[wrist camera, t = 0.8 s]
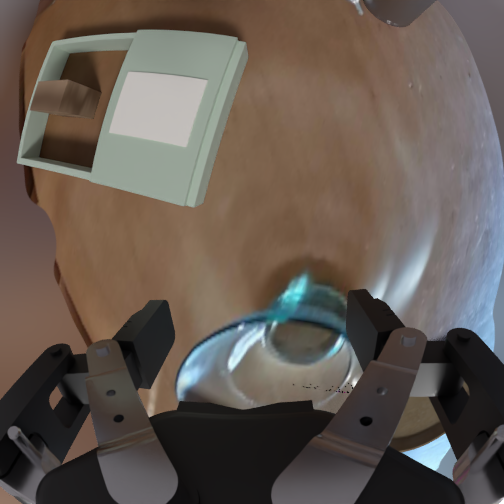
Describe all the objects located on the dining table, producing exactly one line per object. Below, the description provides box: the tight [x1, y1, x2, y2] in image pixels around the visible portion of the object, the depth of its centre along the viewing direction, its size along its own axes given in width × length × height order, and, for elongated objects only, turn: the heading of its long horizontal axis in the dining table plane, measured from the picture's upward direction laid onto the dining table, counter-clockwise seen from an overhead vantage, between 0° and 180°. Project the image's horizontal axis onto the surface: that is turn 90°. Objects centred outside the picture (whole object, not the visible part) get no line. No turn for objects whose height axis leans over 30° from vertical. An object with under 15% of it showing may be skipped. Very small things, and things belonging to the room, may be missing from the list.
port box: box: [17, 30, 248, 207], centre depth 31 cm, size 22×34×6 cm, turn 74°
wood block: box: [30, 80, 101, 119], centre depth 29 cm, size 4×7×9 cm, turn 74°
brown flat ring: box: [389, 381, 469, 452], centre depth 44 cm, size 31×31×5 cm
